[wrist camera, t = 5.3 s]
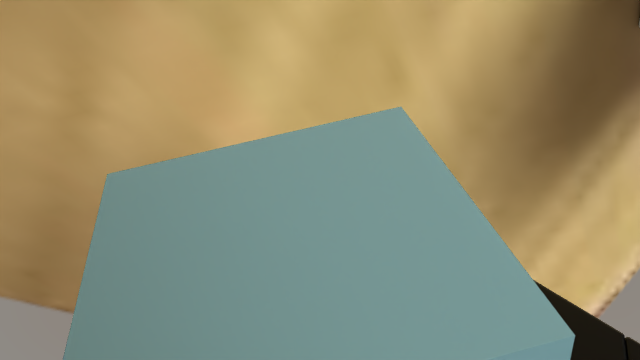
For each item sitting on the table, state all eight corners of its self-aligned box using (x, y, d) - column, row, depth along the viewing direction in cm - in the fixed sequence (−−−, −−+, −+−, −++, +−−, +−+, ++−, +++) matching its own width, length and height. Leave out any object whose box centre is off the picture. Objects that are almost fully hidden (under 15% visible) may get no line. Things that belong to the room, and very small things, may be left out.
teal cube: (400, 106, 9) (574, 335, 5) (413, 304, 12) (530, 551, 8) (107, 174, 9) (32, 485, 5) (193, 362, 11) (195, 656, 7)
